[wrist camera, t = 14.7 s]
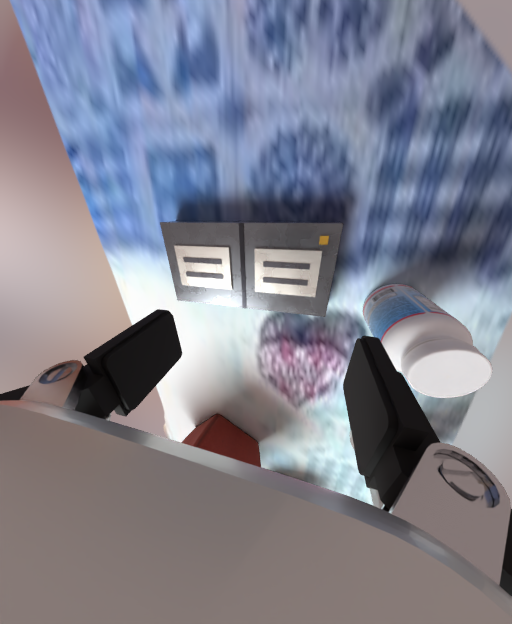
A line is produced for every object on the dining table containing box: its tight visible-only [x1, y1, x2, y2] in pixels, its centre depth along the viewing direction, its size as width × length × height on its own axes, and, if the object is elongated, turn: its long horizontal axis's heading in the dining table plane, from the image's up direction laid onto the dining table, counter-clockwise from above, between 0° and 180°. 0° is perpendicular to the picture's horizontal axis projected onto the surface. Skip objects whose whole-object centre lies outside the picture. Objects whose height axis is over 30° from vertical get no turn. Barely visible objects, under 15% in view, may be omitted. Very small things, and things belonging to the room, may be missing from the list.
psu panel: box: [160, 221, 343, 317], centre depth 23 cm, size 20×10×3 cm, turn 90°
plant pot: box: [182, 414, 261, 467], centre depth 40 cm, size 19×19×17 cm
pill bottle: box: [363, 284, 492, 398], centre depth 18 cm, size 6×6×11 cm
